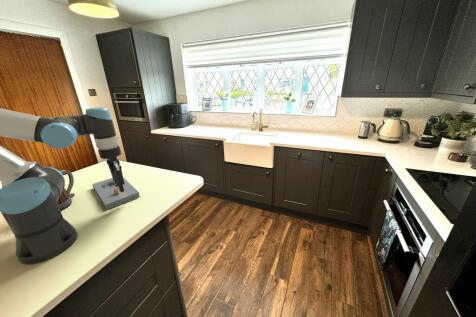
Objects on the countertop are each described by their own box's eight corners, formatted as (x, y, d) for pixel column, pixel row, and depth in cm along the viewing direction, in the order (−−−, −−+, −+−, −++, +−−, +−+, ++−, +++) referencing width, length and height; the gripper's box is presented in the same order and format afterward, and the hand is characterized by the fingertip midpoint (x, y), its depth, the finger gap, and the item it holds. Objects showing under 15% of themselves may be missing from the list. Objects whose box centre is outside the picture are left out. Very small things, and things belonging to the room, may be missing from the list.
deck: (140, 196, 95) (138, 192, 94) (106, 209, 86) (105, 204, 85) (122, 178, 114) (121, 175, 113) (93, 188, 105) (91, 184, 104)
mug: (55, 215, 83) (40, 184, 78) (35, 213, 85) (20, 182, 80) (87, 195, 98) (77, 168, 92) (70, 194, 100) (59, 167, 94)
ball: (115, 195, 92) (113, 189, 91) (113, 192, 94) (111, 187, 93) (123, 192, 94) (121, 186, 93) (121, 190, 96) (119, 184, 95)
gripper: (123, 147, 77) (137, 199, 86) (114, 141, 86) (127, 188, 95) (101, 152, 73) (118, 206, 81) (94, 146, 81) (110, 195, 90)
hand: (123, 197), depth 88 cm, fingers closed
